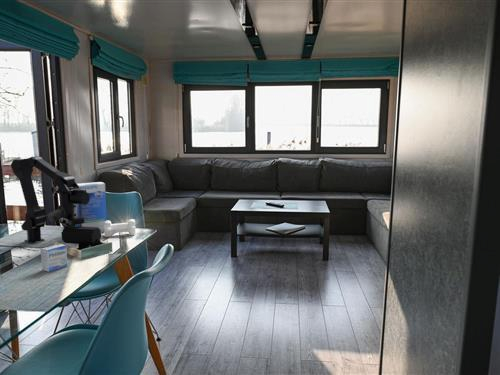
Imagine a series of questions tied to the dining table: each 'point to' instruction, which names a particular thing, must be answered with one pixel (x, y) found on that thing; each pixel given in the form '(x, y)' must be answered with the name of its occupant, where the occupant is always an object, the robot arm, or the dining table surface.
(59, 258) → the medicine box
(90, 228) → the security camera
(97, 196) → the string lights box
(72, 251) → the charging rails
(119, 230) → the bone shaped toy
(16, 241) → the dining table surface
